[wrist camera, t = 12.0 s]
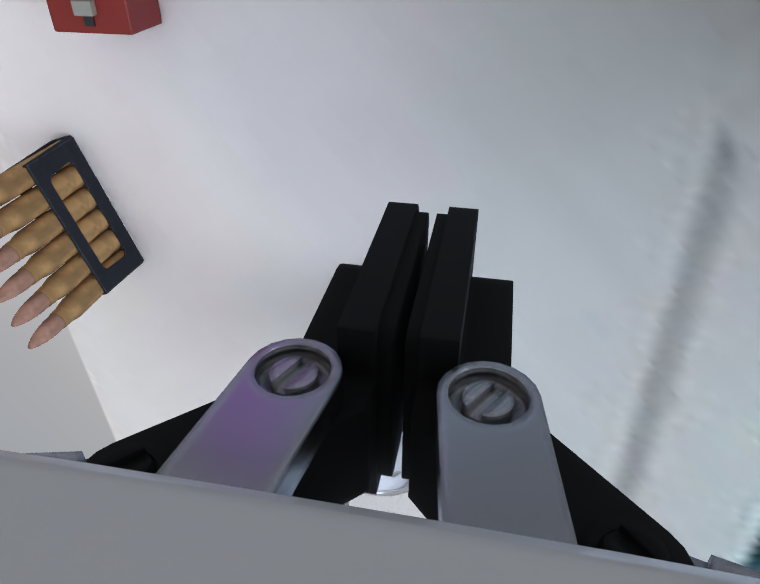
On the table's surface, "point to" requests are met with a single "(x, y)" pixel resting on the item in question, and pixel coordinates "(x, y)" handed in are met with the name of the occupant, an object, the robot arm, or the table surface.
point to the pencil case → (104, 15)
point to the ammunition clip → (60, 237)
